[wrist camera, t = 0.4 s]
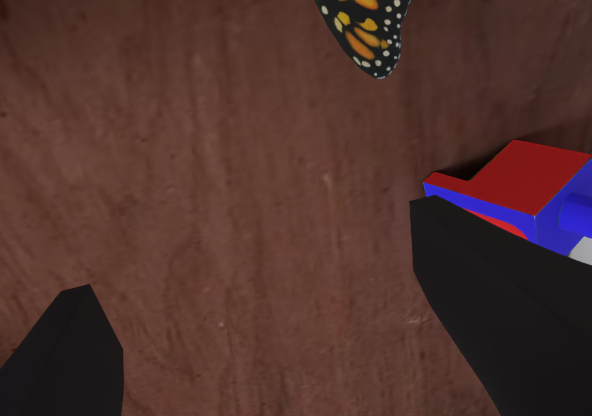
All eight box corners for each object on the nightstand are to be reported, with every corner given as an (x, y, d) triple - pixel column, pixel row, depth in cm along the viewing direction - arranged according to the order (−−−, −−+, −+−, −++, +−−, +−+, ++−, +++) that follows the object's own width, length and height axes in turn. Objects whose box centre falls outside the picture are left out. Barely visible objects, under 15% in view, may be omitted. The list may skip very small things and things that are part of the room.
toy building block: (488, 192, 26) (668, 244, 20) (436, 242, 25) (614, 315, 19) (479, 132, 24) (675, 170, 18) (422, 182, 23) (615, 242, 17)
